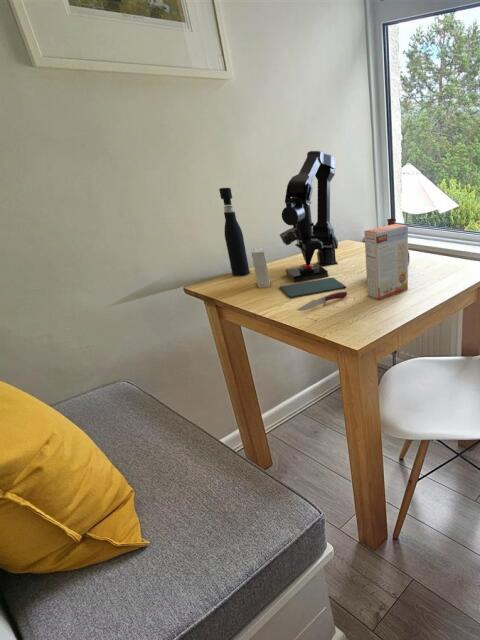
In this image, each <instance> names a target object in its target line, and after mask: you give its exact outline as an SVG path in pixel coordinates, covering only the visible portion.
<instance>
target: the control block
mask: <svg viewBox="0 0 480 640" xmlns="http://www.w3.org/2000/svg"><path fill="white" fill-rule="evenodd" d="M303 265H304V264H303ZM303 265H300V266H299V267H293V268H287V269H285V275H286V277H288V278H289V279H290V280H291V281H293V283H300V282H306V281H312V280H318V279H324V278H329V271H328V270H327V269H326V268H324V267H323V266H322V265H321V264H313V268H310V269H305V268H303Z"/></svg>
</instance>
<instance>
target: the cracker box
mask: <svg viewBox="0 0 480 640" xmlns="http://www.w3.org/2000/svg"><path fill="white" fill-rule="evenodd" d="M364 249H365V270H366V271H365V272H366V288H367V290H366V291H367V296H368V297H370V298H373V299H376V300H381V299H384V298H387V297H390V296H393V295H396V294H398V293H401V292H403V291H406V290H408V289H409V265H408V251H409V226H408V225H405V224H401V223H395V224H393V225H388V224H387V225H384V226H380V227H375V228H371V229H366V230H364Z"/></svg>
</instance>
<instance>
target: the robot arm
mask: <svg viewBox="0 0 480 640" xmlns="http://www.w3.org/2000/svg"><path fill="white" fill-rule="evenodd" d="M336 168H337V161H336V158H334V157H333V155H332V154H327V153H324V152H323V151H321V150H309V151H307V153H306V159H304V163H303V164H302V166H301V168H300V170H299V172H298V174H296V175H294V176H292V177H291V178H290V179H289V181H288V183H287V185H286V191H285V198H284V204H285V207H284V208H283V209H282V211H281V219H282V221H283V222H284V224H285V225H287V226H290V227H291V226H292V227H291V228H289V229H287V230H285V231H283V232H281V233H280V234H279V237H280V239H281V241H282V243H283V244H285V245H286V246H288V245H289V246H290V245H291V244H292V243H293V242H295V241H296V244H295V246H296V247H297V248H298V249H299V250H300V252H301V255H302V258H303V260H304V262H305V264H306V265H310V264H311V263H312V259H313V257H314V254H315V252H316V250H317V252H316V258H317V260H316V261H317V264H318V265H320V266H321V267H326V266H332V265H338V261H336V250H337V249H339V241H338V239H337V237H336V235H335V230H334V228H333V226H332V224H331V181H332V179H333V178H334V176H335V174H336ZM314 178H316V180H317V205H316V206H317V210H316V211H317V212H316V214H317V220H316V223H314V222H312V212H311V204H312V201H311V199H312V196H313V195H312V194H313V192H314V190H313V184H312V183H313V181H314Z"/></svg>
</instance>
